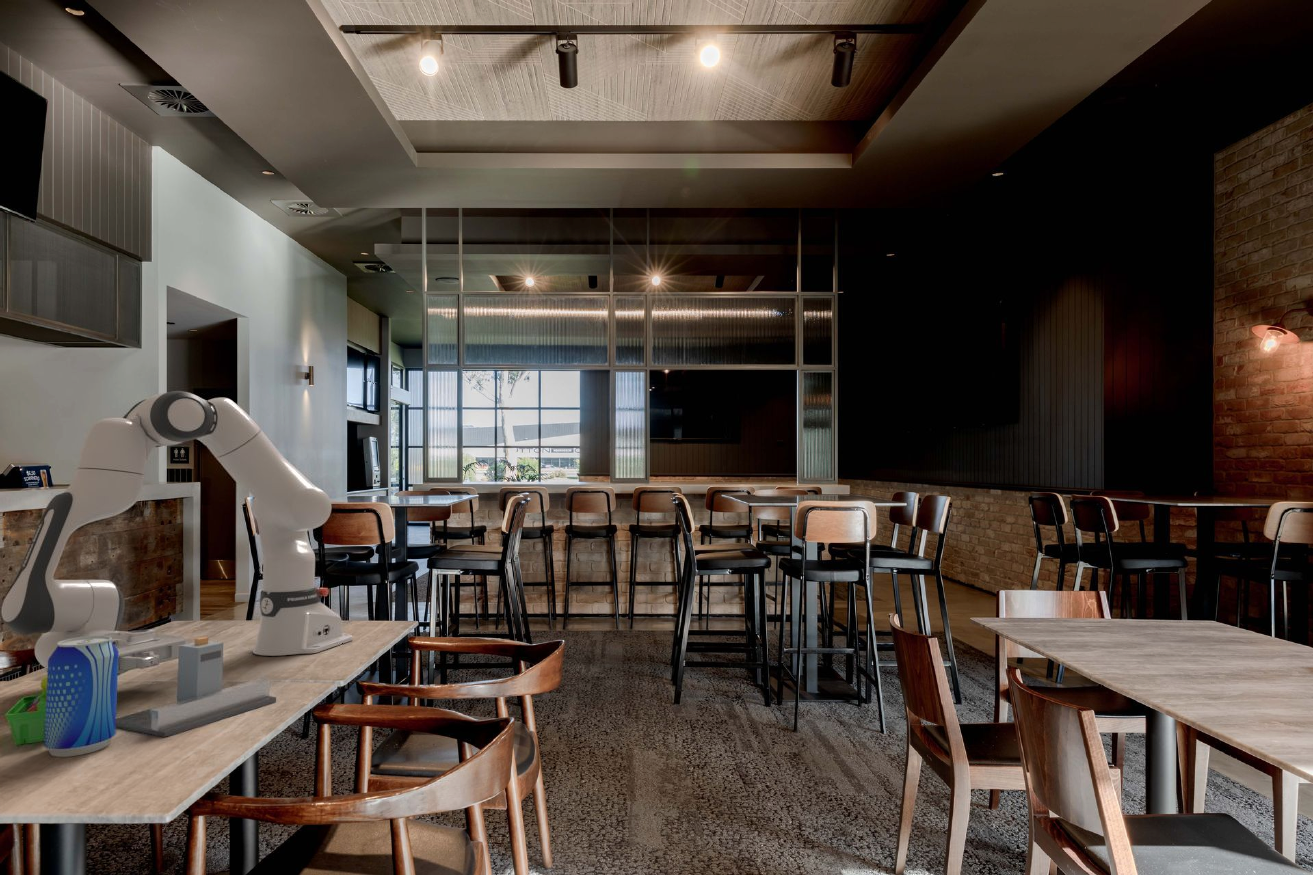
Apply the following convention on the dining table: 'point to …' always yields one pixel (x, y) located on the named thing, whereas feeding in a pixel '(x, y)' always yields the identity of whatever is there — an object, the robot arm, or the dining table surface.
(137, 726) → the rail plate
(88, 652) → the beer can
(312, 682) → the dining table surface
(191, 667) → the module
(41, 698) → the fruit basket
